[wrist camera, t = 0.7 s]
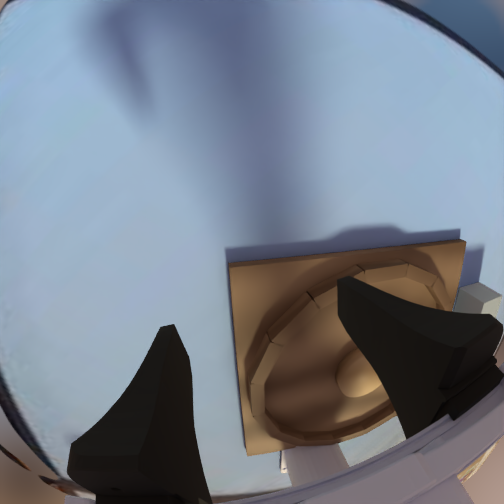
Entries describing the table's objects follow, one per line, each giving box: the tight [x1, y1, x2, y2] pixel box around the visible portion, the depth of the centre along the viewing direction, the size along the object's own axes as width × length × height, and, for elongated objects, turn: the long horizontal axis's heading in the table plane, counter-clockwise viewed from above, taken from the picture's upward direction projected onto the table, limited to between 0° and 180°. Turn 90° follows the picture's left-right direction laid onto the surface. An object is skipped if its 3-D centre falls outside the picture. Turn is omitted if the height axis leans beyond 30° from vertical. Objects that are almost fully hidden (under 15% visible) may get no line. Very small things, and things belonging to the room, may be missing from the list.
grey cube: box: [453, 282, 502, 318], centre depth 27 cm, size 5×5×5 cm
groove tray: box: [228, 239, 466, 456], centre depth 26 cm, size 25×25×2 cm
